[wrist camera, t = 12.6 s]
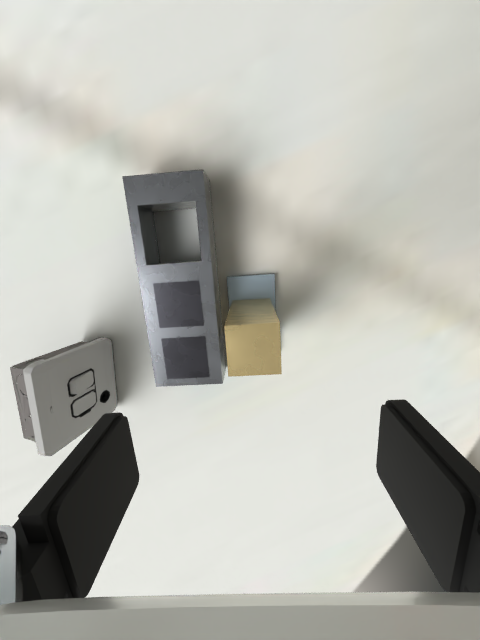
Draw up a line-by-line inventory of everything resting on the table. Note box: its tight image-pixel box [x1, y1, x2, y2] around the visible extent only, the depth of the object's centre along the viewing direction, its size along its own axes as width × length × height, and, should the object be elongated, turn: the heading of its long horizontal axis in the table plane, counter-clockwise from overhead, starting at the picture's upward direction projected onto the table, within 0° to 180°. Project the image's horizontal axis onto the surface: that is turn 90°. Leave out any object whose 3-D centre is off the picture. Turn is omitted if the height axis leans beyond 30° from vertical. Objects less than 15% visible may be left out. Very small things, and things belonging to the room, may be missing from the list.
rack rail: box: [122, 170, 226, 387], centre depth 28 cm, size 20×7×4 cm, turn 4°
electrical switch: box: [10, 337, 117, 456], centre depth 29 cm, size 9×5×9 cm, turn 178°
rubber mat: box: [227, 274, 276, 312], centre depth 30 cm, size 9×5×1 cm, turn 4°
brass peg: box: [224, 298, 281, 376], centre depth 25 cm, size 4×4×10 cm
